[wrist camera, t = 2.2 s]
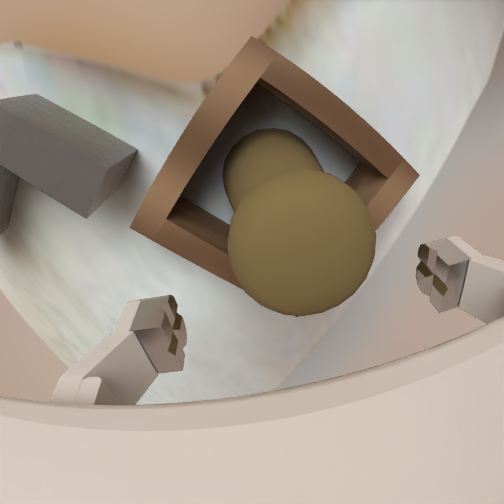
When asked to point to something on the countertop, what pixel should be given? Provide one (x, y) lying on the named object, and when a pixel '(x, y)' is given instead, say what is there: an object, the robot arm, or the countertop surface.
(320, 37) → the countertop surface
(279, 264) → the cork
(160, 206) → the sleeve
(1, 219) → the v block
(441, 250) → the robot arm
